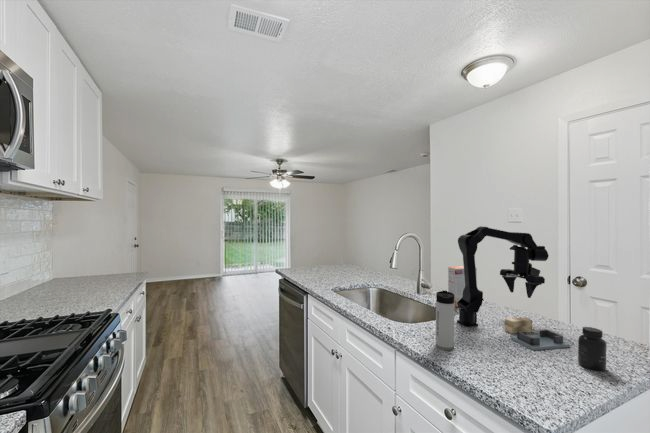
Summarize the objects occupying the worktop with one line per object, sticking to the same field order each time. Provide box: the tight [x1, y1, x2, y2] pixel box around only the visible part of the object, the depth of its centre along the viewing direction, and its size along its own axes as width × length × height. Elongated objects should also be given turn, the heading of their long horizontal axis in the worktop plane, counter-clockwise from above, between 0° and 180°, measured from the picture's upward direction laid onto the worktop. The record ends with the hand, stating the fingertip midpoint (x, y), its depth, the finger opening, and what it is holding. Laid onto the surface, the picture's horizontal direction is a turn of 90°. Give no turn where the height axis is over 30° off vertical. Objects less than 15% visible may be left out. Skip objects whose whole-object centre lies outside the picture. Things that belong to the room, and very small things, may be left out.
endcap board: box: [510, 329, 571, 351], centre depth 114 cm, size 16×10×4 cm, turn 101°
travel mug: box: [435, 290, 455, 351], centre depth 110 cm, size 6×7×20 cm
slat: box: [504, 317, 533, 334], centre depth 127 cm, size 10×4×5 cm, turn 101°
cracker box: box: [447, 265, 478, 309], centre depth 162 cm, size 14×6×21 cm, turn 106°
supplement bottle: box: [577, 326, 608, 372], centre depth 97 cm, size 7×7×12 cm
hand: (520, 295), depth 135 cm, fingers open, 9 cm apart
